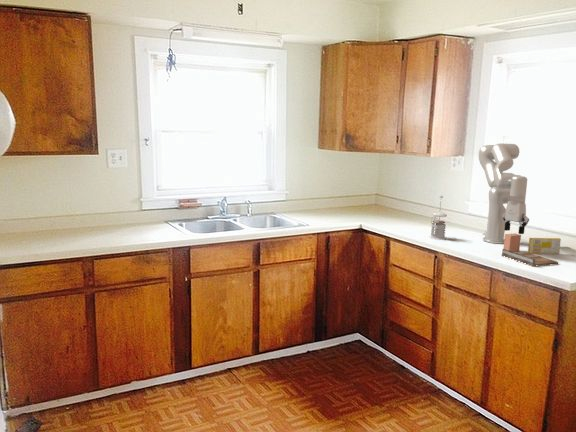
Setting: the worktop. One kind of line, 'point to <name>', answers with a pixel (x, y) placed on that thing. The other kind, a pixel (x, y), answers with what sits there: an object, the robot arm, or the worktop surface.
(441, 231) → the french press
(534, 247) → the candy box
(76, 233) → the worktop surface
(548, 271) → the worktop surface
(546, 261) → the shelf board
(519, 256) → the rail
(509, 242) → the tea box
